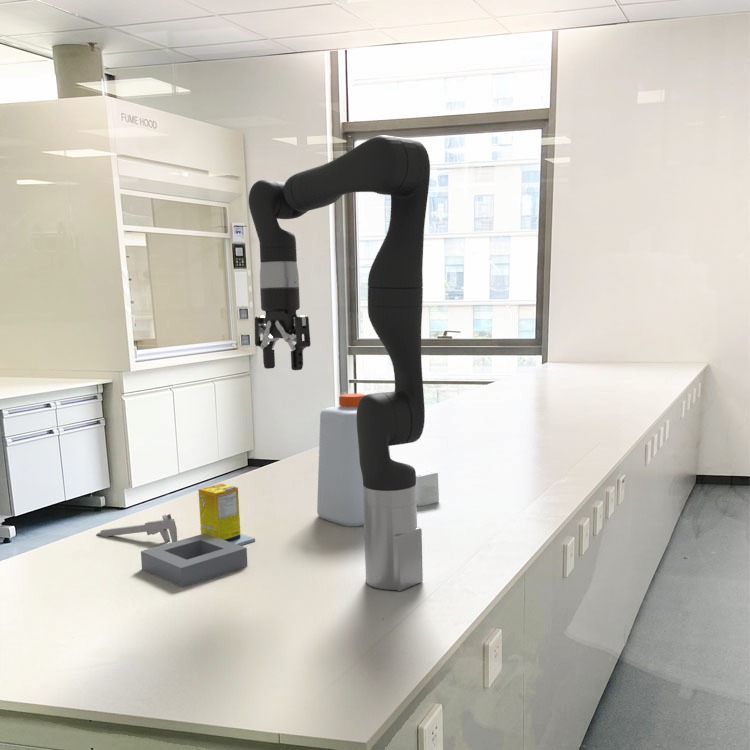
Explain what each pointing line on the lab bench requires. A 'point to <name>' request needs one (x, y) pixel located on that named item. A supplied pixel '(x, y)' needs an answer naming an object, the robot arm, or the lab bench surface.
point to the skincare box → (426, 487)
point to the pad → (243, 540)
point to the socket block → (193, 559)
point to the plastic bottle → (340, 464)
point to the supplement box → (220, 511)
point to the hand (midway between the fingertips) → (283, 369)
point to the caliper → (147, 529)
